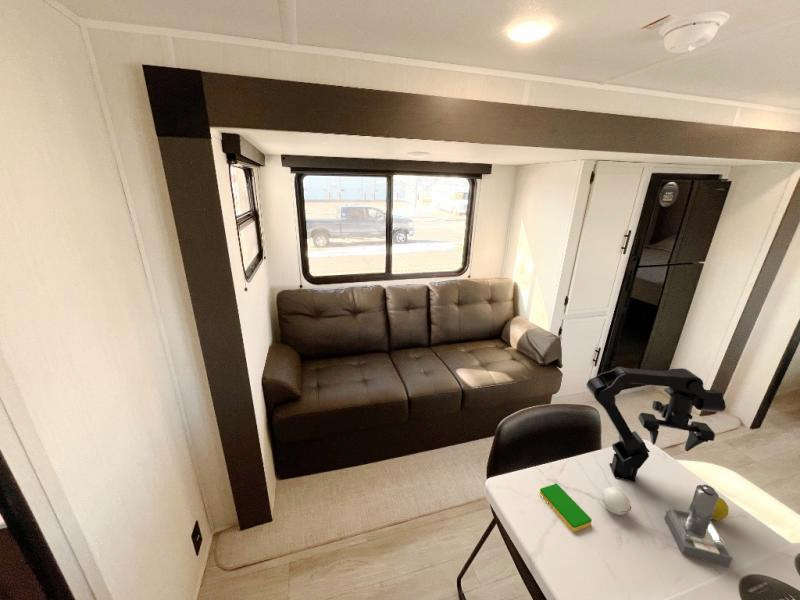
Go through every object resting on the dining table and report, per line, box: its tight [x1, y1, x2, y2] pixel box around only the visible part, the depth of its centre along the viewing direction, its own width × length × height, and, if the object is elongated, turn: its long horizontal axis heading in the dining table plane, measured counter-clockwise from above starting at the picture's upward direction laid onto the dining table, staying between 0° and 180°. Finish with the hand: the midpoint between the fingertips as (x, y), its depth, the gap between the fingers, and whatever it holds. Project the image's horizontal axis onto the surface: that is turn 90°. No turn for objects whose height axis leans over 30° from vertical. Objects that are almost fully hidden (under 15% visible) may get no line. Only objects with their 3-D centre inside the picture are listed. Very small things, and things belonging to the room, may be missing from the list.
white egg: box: [601, 486, 632, 516], centre depth 98 cm, size 10×7×7 cm
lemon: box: [711, 496, 729, 521], centre depth 95 cm, size 6×6×8 cm
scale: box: [663, 507, 733, 568], centre depth 89 cm, size 10×11×5 cm
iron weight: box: [685, 484, 720, 536], centre depth 87 cm, size 4×4×14 cm
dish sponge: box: [539, 483, 592, 533], centre depth 99 cm, size 7×14×2 cm, turn 18°
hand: (669, 447), depth 107 cm, fingers open, 9 cm apart
